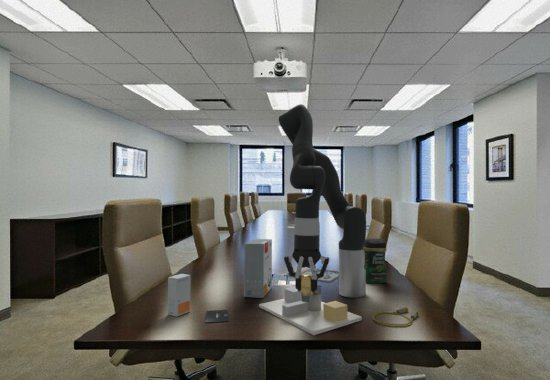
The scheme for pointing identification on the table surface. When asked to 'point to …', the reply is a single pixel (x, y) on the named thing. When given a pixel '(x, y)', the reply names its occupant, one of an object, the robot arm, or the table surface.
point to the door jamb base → (310, 312)
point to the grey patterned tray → (327, 276)
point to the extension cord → (400, 310)
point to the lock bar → (307, 288)
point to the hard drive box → (257, 267)
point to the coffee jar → (375, 260)
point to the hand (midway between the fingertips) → (306, 290)
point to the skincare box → (179, 294)
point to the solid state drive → (216, 316)
